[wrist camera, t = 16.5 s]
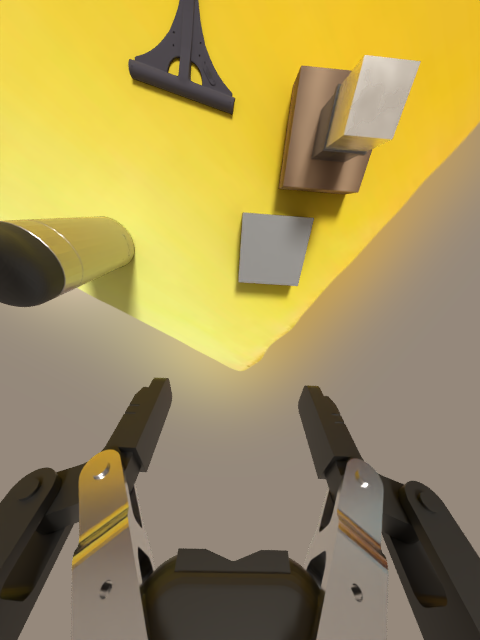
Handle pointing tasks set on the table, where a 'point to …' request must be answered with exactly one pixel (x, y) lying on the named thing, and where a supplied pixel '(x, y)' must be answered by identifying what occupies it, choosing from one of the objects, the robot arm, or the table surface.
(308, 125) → the stand
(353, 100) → the block
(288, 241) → the stand
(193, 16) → the bracket
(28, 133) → the table surface
